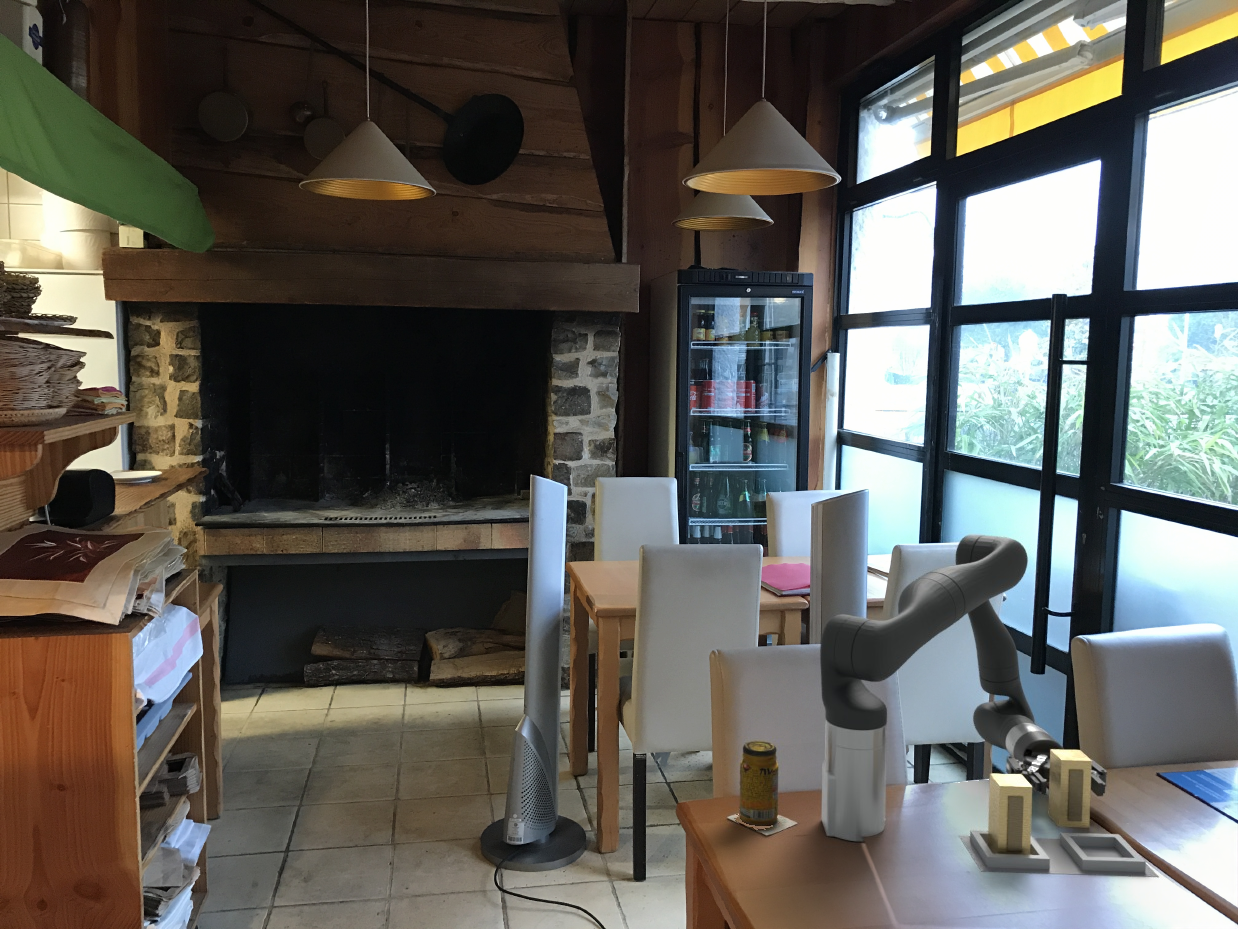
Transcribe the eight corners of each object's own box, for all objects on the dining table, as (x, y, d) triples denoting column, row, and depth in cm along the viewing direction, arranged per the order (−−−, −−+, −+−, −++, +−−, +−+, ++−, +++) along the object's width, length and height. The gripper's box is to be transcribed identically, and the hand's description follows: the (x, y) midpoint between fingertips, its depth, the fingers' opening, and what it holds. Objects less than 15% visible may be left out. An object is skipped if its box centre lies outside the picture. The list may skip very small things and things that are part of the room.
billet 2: (1059, 830, 151) (1062, 760, 150) (1048, 817, 156) (1050, 749, 155) (1089, 831, 151) (1092, 761, 150) (1077, 818, 155) (1079, 750, 155)
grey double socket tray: (980, 878, 137) (981, 861, 137) (958, 842, 148) (959, 826, 148) (1158, 883, 136) (1159, 866, 135) (1123, 847, 147) (1123, 830, 146)
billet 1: (998, 862, 140) (1000, 786, 139) (987, 846, 145) (989, 773, 144) (1030, 863, 139) (1033, 787, 139) (1019, 847, 144) (1021, 774, 143)
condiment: (757, 806, 161) (758, 735, 160) (798, 824, 154) (799, 749, 154) (726, 819, 156) (727, 745, 156) (766, 837, 150) (767, 760, 149)
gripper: (993, 729, 168) (1026, 765, 152) (1078, 731, 167) (1121, 767, 151) (991, 772, 168) (1024, 812, 152) (1077, 774, 168) (1119, 814, 151)
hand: (1072, 789), depth 152 cm, fingers open, 8 cm apart
